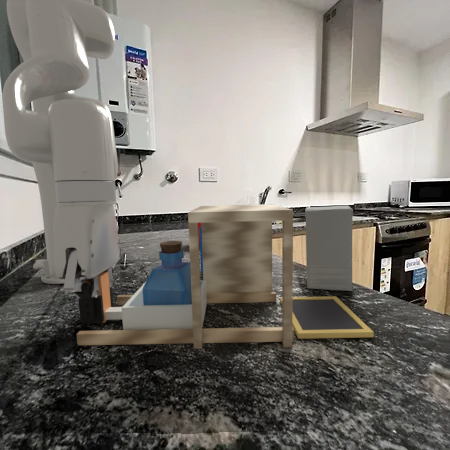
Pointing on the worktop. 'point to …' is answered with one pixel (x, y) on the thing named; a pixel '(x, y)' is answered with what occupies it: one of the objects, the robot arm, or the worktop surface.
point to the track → (187, 334)
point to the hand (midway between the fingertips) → (98, 316)
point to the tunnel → (239, 256)
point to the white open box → (148, 310)
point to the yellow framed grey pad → (326, 319)
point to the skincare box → (329, 247)
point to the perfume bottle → (169, 278)
